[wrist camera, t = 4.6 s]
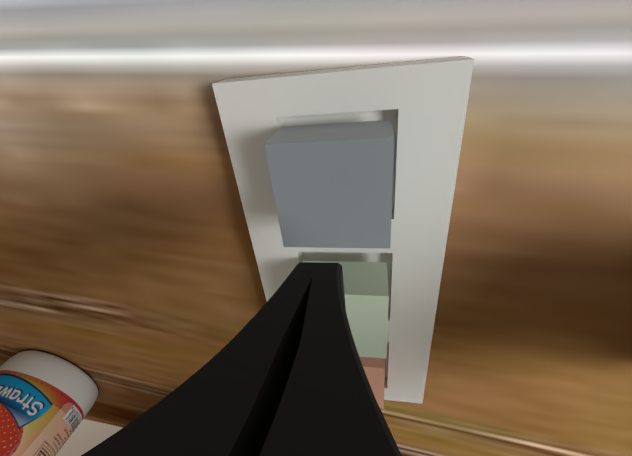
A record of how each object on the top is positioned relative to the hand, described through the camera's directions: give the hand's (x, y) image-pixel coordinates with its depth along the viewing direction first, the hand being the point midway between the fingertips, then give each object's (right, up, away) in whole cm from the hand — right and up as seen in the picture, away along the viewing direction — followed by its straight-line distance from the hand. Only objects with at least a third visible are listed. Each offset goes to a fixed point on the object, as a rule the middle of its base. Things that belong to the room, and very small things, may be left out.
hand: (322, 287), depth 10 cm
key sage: (+1, -2, +7) cm, 8 cm away
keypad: (+2, -1, +9) cm, 9 cm away
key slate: (+1, +4, +4) cm, 6 cm away
